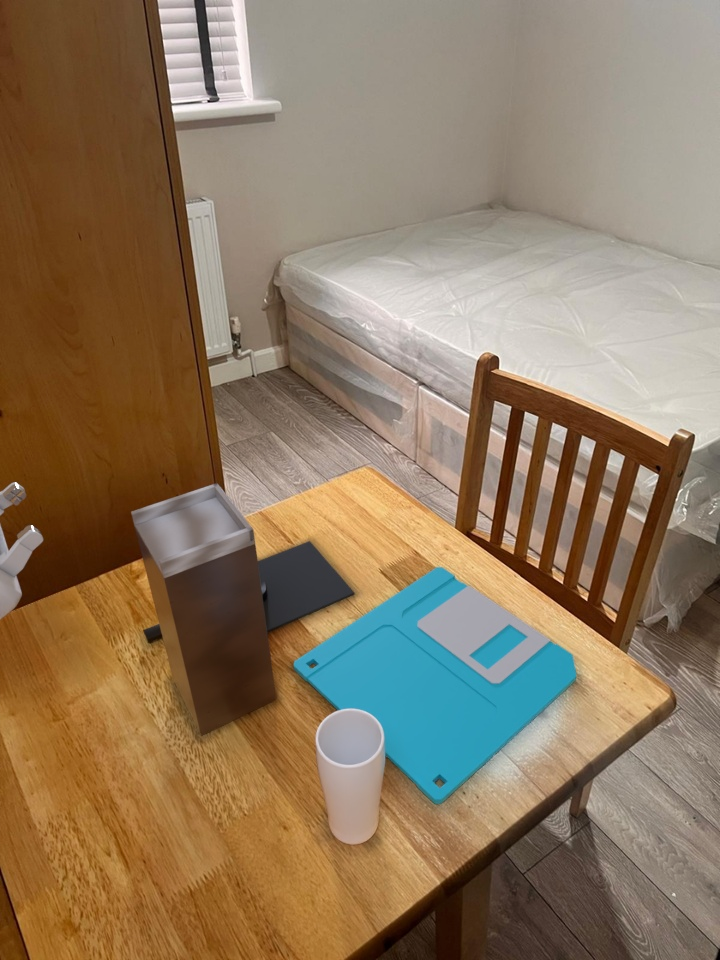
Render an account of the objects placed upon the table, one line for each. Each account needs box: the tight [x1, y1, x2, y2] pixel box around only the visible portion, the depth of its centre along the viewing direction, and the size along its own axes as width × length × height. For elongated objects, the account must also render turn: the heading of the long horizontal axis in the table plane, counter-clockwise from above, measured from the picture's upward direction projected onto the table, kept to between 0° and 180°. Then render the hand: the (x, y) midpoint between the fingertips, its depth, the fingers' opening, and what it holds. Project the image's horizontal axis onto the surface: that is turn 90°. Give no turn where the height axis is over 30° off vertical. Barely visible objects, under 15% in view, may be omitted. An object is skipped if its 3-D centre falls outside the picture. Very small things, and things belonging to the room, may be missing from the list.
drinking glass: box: [314, 709, 386, 846], centre depth 74 cm, size 7×7×15 cm
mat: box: [258, 540, 355, 633], centre depth 107 cm, size 24×14×1 cm, turn 121°
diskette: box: [293, 566, 578, 805], centre depth 95 cm, size 26×28×1 cm
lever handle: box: [142, 580, 268, 644], centre depth 103 cm, size 18×4×2 cm, turn 120°
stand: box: [130, 482, 277, 737], centre depth 85 cm, size 10×10×28 cm
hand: (29, 508), depth 79 cm, fingers open, 8 cm apart
